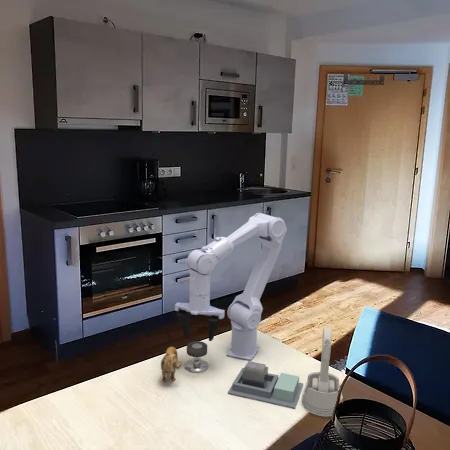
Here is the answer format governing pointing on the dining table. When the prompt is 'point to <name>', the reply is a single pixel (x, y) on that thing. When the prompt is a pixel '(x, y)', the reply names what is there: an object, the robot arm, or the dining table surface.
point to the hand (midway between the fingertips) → (198, 337)
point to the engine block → (255, 375)
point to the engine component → (322, 384)
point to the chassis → (270, 390)
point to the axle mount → (196, 365)
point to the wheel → (196, 349)
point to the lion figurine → (170, 363)
